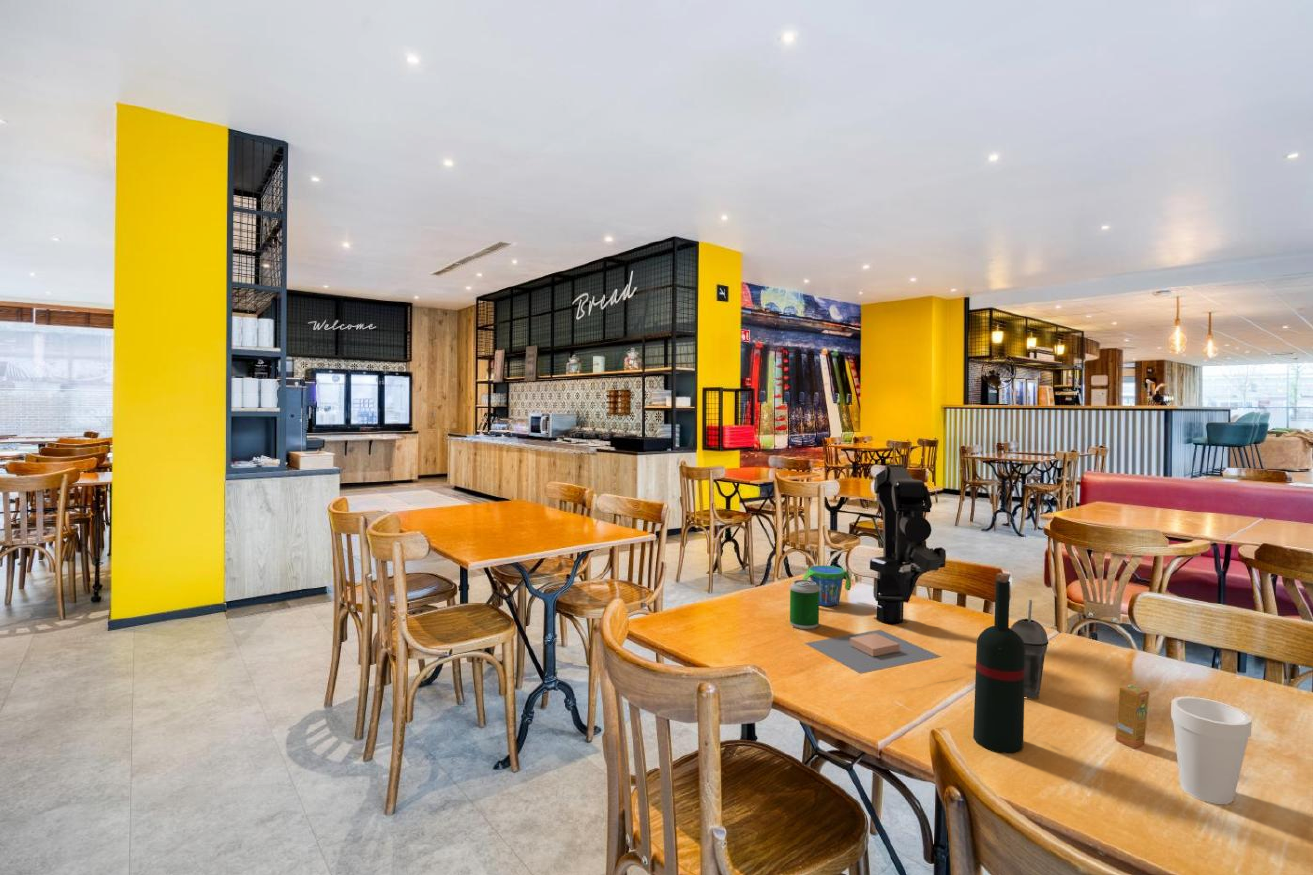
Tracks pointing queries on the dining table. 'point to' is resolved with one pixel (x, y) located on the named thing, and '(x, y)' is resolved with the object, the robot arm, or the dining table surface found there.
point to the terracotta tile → (874, 644)
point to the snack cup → (828, 583)
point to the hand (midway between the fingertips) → (907, 598)
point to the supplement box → (1132, 715)
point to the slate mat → (867, 663)
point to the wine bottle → (1000, 680)
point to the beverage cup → (1032, 652)
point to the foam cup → (1209, 747)
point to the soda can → (804, 604)
